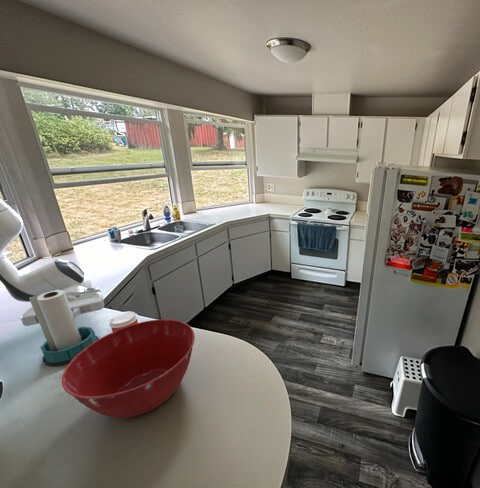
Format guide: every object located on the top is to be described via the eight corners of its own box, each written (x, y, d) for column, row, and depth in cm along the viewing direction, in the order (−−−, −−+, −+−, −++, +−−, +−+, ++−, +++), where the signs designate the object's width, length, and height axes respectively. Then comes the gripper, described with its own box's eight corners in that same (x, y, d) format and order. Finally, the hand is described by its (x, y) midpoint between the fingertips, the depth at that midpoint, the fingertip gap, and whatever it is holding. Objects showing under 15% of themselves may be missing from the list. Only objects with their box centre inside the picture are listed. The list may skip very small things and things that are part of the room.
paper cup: (119, 362, 82) (108, 327, 78) (117, 349, 88) (107, 316, 83) (147, 351, 87) (138, 318, 83) (144, 339, 93) (136, 307, 88)
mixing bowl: (127, 357, 85) (115, 319, 79) (213, 353, 87) (208, 316, 82) (47, 449, 58) (23, 401, 53) (176, 440, 61) (164, 393, 56)
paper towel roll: (87, 343, 88) (69, 291, 81) (67, 356, 82) (45, 300, 75) (72, 339, 89) (52, 287, 82) (51, 352, 84) (28, 297, 77)
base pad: (48, 373, 77) (43, 361, 76) (39, 353, 85) (33, 341, 83) (105, 347, 88) (101, 336, 87) (92, 331, 96) (88, 320, 94)
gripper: (26, 301, 86) (8, 323, 75) (103, 286, 97) (98, 304, 86) (33, 316, 88) (16, 340, 77) (108, 300, 99) (102, 319, 88)
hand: (60, 320), depth 82 cm, fingers closed on paper towel roll, 3 cm apart
